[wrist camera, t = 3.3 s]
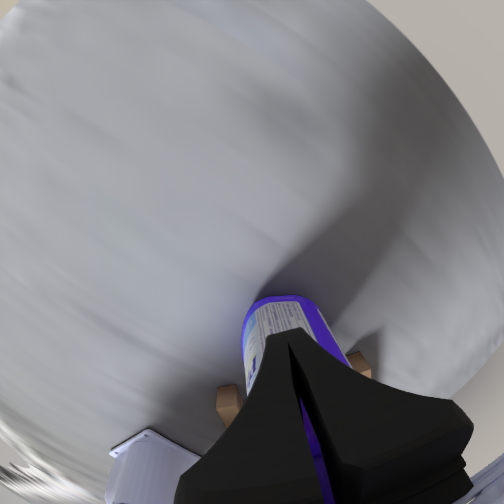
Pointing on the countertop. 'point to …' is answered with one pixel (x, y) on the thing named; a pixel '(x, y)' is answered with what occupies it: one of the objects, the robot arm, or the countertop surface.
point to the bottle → (281, 319)
